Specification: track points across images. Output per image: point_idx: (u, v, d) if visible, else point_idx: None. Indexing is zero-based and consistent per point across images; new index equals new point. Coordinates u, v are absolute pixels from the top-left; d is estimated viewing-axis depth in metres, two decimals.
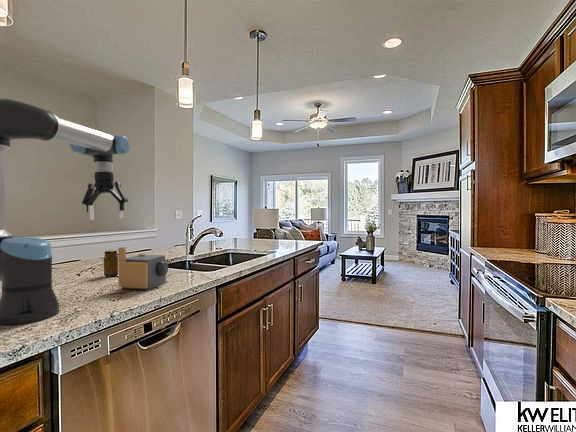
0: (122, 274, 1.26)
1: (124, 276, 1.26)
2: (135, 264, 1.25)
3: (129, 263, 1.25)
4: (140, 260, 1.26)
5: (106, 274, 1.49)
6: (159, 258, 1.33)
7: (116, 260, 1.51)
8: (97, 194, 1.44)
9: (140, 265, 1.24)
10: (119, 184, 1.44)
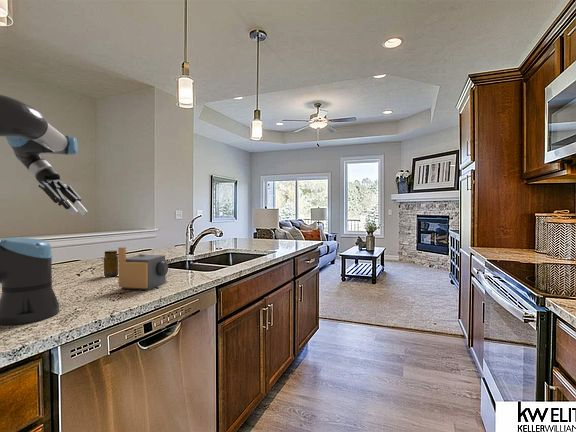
0: (122, 274, 1.26)
1: (124, 276, 1.26)
2: (135, 264, 1.25)
3: (129, 263, 1.25)
4: (140, 260, 1.26)
5: (106, 274, 1.49)
6: (159, 258, 1.33)
7: (116, 260, 1.51)
8: None
9: (140, 265, 1.24)
10: None
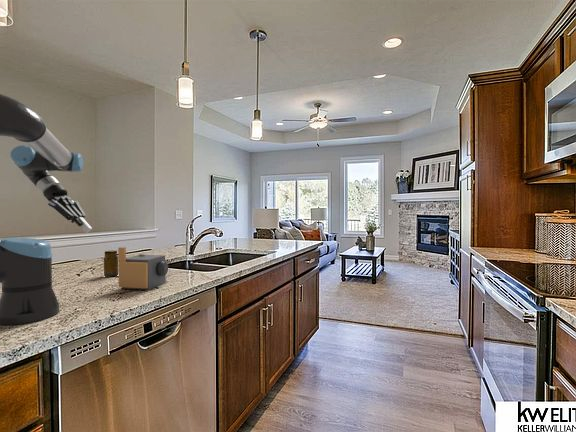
0: (122, 274, 1.26)
1: (124, 276, 1.26)
2: (135, 264, 1.25)
3: (129, 263, 1.25)
4: (140, 260, 1.26)
5: (106, 274, 1.49)
6: (159, 258, 1.33)
7: (116, 260, 1.51)
8: None
9: (140, 265, 1.24)
10: None
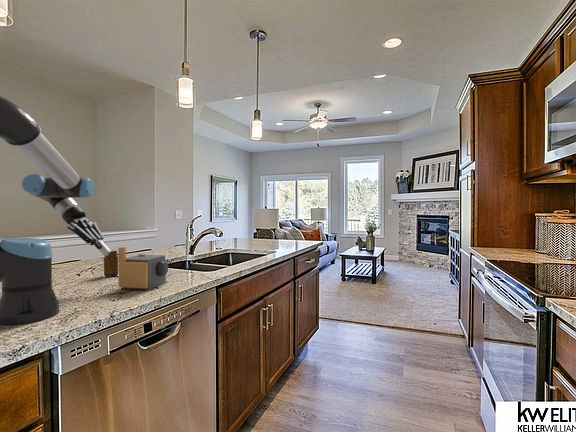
0: (122, 274, 1.26)
1: (124, 276, 1.26)
2: (135, 264, 1.25)
3: (129, 263, 1.25)
4: (140, 260, 1.26)
5: (106, 274, 1.49)
6: (159, 258, 1.33)
7: (116, 260, 1.51)
8: None
9: (140, 265, 1.24)
10: None
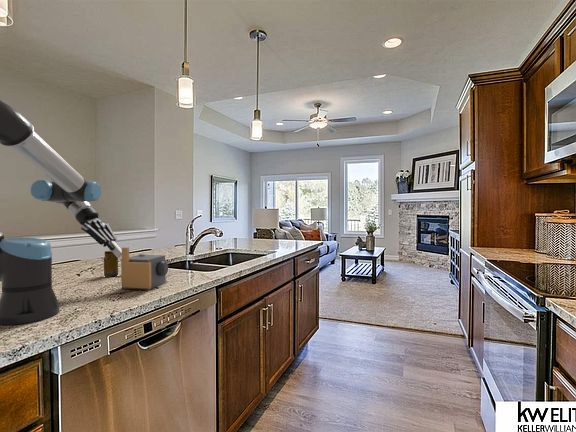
0: (125, 274, 1.25)
1: (128, 276, 1.25)
2: (138, 264, 1.24)
3: (132, 263, 1.25)
4: (140, 260, 1.26)
5: (106, 274, 1.49)
6: (159, 258, 1.33)
7: (116, 260, 1.51)
8: None
9: (144, 266, 1.24)
10: None
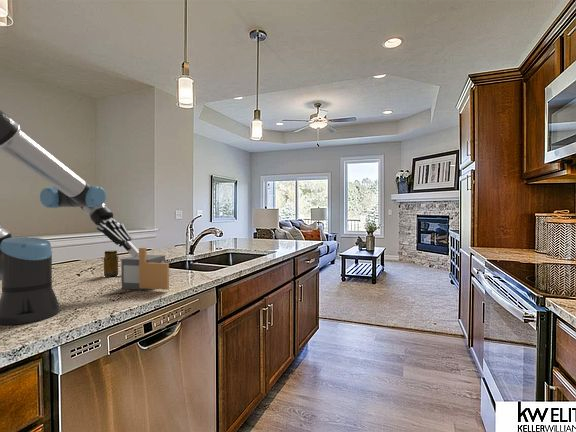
0: (143, 275, 1.24)
1: (145, 277, 1.24)
2: (156, 265, 1.23)
3: (150, 264, 1.24)
4: None
5: (106, 274, 1.49)
6: (159, 258, 1.33)
7: (116, 260, 1.51)
8: None
9: (161, 266, 1.23)
10: None
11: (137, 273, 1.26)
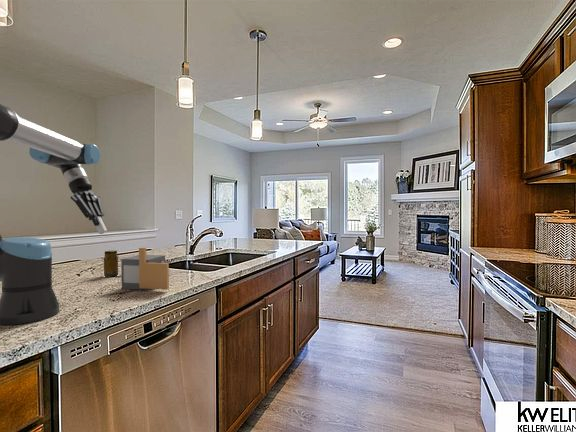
0: (143, 275, 1.24)
1: (145, 277, 1.24)
2: (156, 265, 1.23)
3: (150, 264, 1.24)
4: None
5: (106, 274, 1.49)
6: (159, 258, 1.33)
7: (116, 260, 1.51)
8: None
9: (161, 266, 1.23)
10: None
11: (137, 273, 1.26)
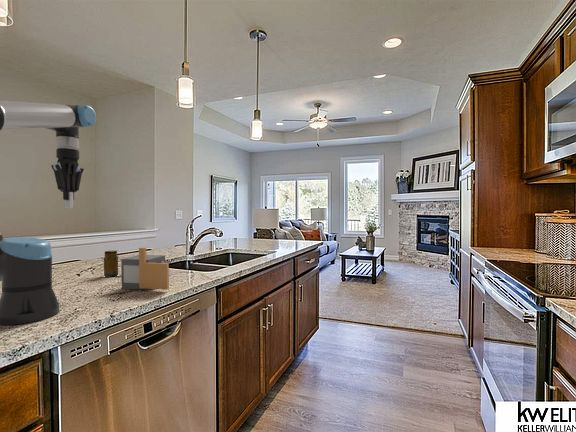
0: (143, 275, 1.24)
1: (145, 277, 1.24)
2: (156, 265, 1.23)
3: (150, 264, 1.24)
4: None
5: (106, 274, 1.49)
6: (159, 258, 1.33)
7: (116, 260, 1.51)
8: None
9: (161, 266, 1.23)
10: None
11: (137, 273, 1.26)
